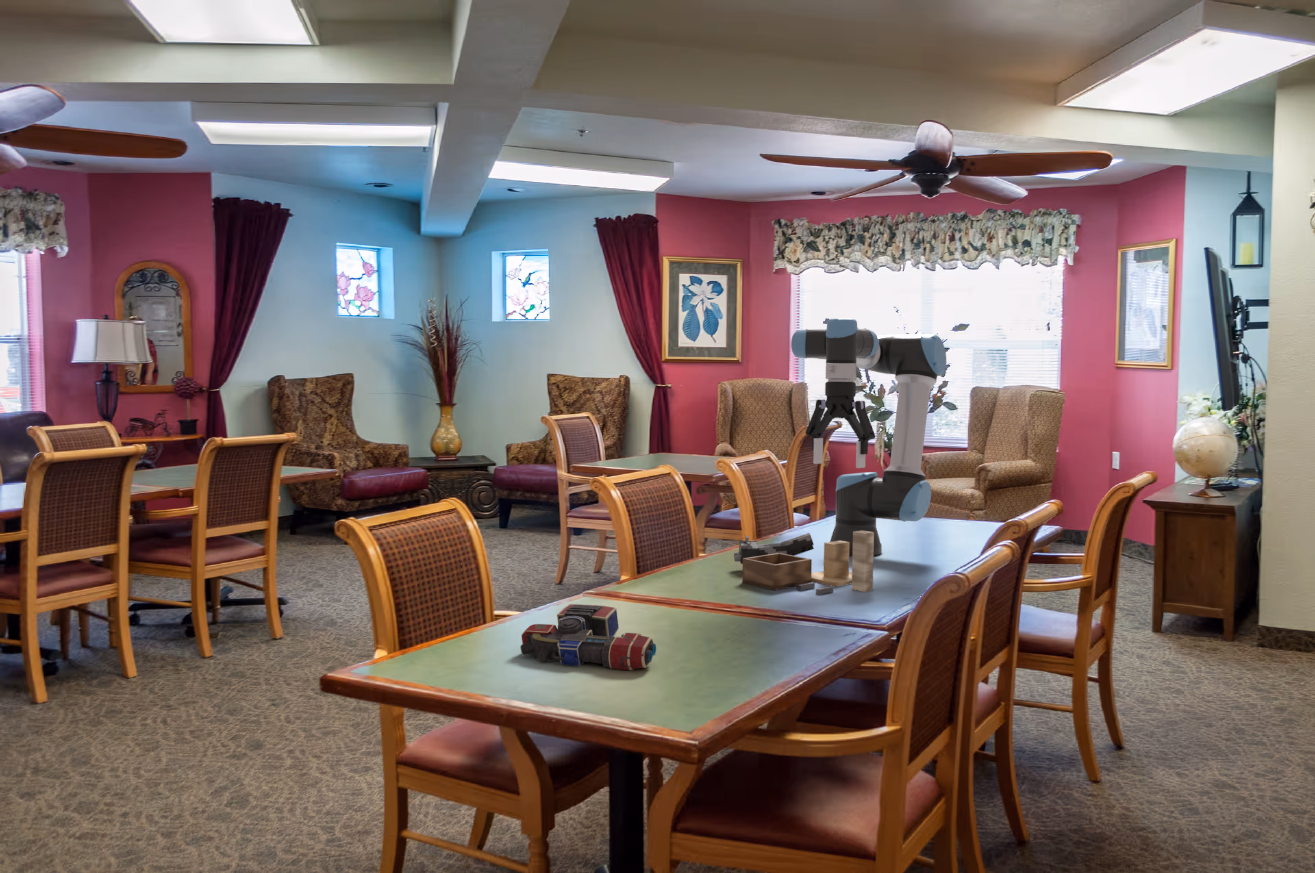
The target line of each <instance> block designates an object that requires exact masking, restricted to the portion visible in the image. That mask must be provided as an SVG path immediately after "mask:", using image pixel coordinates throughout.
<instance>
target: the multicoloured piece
mask: <svg viewBox="0 0 1315 873" xmlns="http://www.w3.org/2000/svg"><path fill="white" fill-rule="evenodd" d="M617 611H618V610H617V608H616V607H612V606H606V605H597V604H595V605H594V604H578V603H576V604H572V603H571V604H570V603H569V604H568V605H566V606H564V608H562V609H561V610H560V611H559V612H558V613H557V614H556V616H557V625H555V624H550V623H549V624H547V623H535V624H531V625H529V626H528V627H527V628H526V629H525V630H524V631H523V632H522V633H521V643H522V644H521V645H520V652H521V655H529V654H532V656H533V658H534V659H537V660H538V661H540V662H545V661H551V662H552V661H553V662H559V663H560V665H564V666H565V665H566V666H576V667H580V666H581V665H583V664H584V663H587V662H588V663H593V664H602V665H603V667H604V668H610V669H612V670H623V671H624V670H625V671H633V670H635V669H636V670H637V669H645V668H648V666H649V665H650V663H652V659H653V657H654V656H656V653H657V644H656V643H654V639H653V637H649V636H644V635H642V634H641V633H634V632H625V633H623V634H621V635H620V636H616V634H617V632H618V631H619V619H618V612H617Z"/></svg>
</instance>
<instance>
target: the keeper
mask: <svg viewBox="0 0 1315 873" xmlns="http://www.w3.org/2000/svg"><path fill="white" fill-rule="evenodd" d="M815 583H816V582H812V581H811V583H806V584H792V587H791V588H794V587H796V589H797V590H798V591H800V592H801V591H806V590H812V589H815V595H817V594H818V595H817V596H821V595H826V594H830V592H831V593H833V592H834V587H833V586H829V585H828V586H826V587H821V588H816V586H815V585H816V584H815ZM820 594H821V595H820Z"/></svg>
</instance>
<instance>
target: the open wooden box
mask: <svg viewBox="0 0 1315 873" xmlns="http://www.w3.org/2000/svg"><path fill="white" fill-rule="evenodd" d="M812 563H813V562H812V559H811V558H807V557H801V556H797V555H795V556H792V555H787V554H782V553H775V554H768V555H762V556H756V557H749V558H743V564H742V569H741V570H742V572H741V573H742V574H741V575H742V577H741V578H742V579H741V581H742V583H743V584H746V583H747V584H746V585H750V586H755V585H756V586H755V587H760V588H763V587H765V588H764V589H768V590H772V591H778V590H783V589H782V588H784V589H788V588H787V587H789V588H793V587H792V584H806V583H811V582H812V581H811V573H812V566H813V564H812Z"/></svg>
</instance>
